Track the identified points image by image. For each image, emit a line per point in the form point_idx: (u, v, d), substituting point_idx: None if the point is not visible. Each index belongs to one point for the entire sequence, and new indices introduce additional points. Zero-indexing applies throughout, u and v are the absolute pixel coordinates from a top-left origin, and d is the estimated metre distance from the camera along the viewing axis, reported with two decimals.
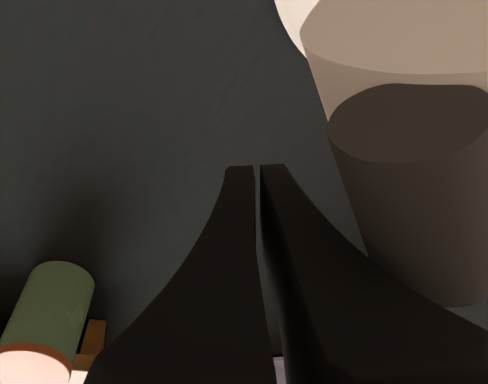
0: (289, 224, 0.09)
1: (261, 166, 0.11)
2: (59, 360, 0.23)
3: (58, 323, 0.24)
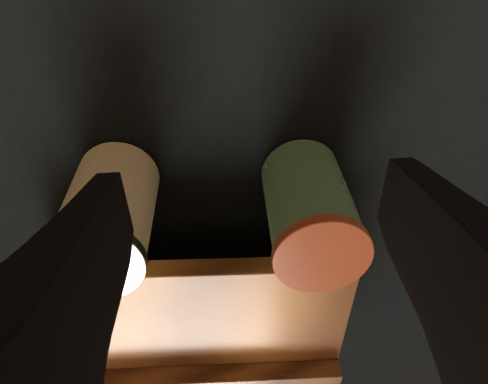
0: (459, 215, 0.09)
1: (391, 159, 0.11)
2: (365, 233, 0.17)
3: (340, 195, 0.19)
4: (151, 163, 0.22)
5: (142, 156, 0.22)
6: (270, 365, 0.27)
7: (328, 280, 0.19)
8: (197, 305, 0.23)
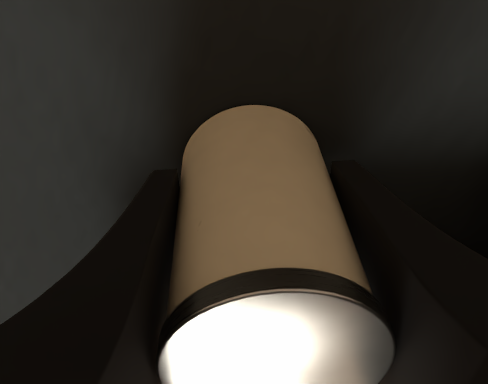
0: (383, 219, 0.09)
1: (333, 162, 0.11)
2: None
3: None
4: (316, 143, 0.12)
5: (305, 129, 0.12)
6: None
7: None
8: None
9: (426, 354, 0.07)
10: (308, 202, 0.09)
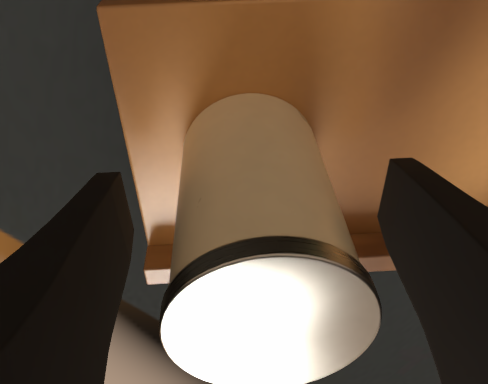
0: (459, 215, 0.09)
1: (392, 159, 0.11)
2: None
3: None
4: (311, 130, 0.13)
5: (299, 116, 0.12)
6: None
7: None
8: (409, 82, 0.12)
9: None
10: (301, 180, 0.09)
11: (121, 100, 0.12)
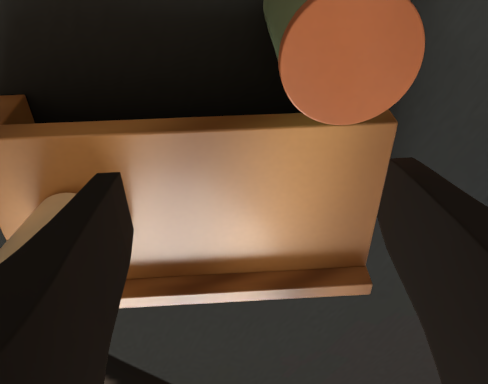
0: (459, 215, 0.09)
1: (392, 159, 0.11)
2: (413, 10, 0.12)
3: None
4: None
5: None
6: (281, 274, 0.22)
7: (359, 101, 0.14)
8: (184, 181, 0.18)
9: None
10: None
11: None
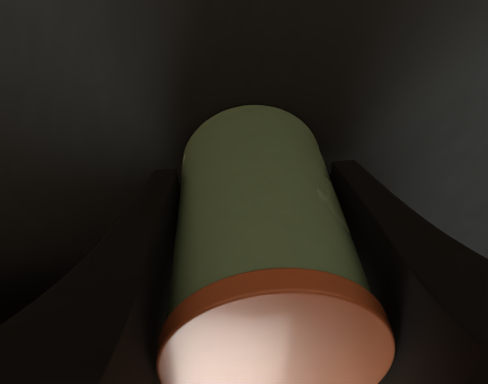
0: (383, 219, 0.09)
1: (333, 162, 0.11)
2: (373, 311, 0.07)
3: (315, 215, 0.08)
4: None
5: None
6: None
7: None
8: None
9: (426, 354, 0.07)
10: None
11: None
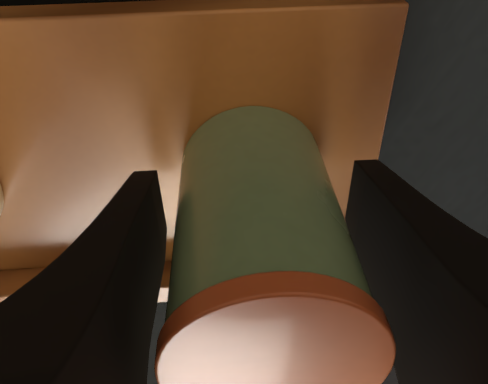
0: (412, 217, 0.09)
1: (356, 161, 0.11)
2: (373, 315, 0.07)
3: (315, 218, 0.08)
4: None
5: None
6: None
7: None
8: (69, 110, 0.11)
9: (464, 352, 0.07)
10: None
11: None
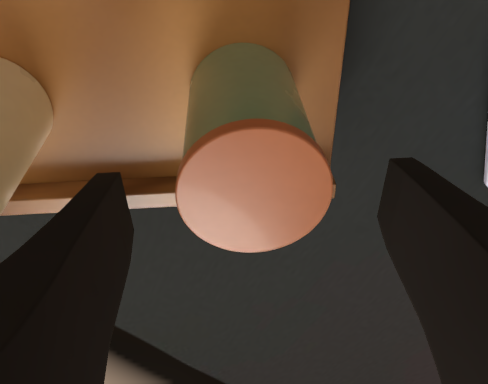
0: (459, 215, 0.09)
1: (392, 159, 0.11)
2: (315, 149, 0.11)
3: (282, 101, 0.12)
4: (31, 83, 0.16)
5: (16, 71, 0.15)
6: None
7: (268, 231, 0.13)
8: (106, 44, 0.15)
9: None
10: None
11: None
